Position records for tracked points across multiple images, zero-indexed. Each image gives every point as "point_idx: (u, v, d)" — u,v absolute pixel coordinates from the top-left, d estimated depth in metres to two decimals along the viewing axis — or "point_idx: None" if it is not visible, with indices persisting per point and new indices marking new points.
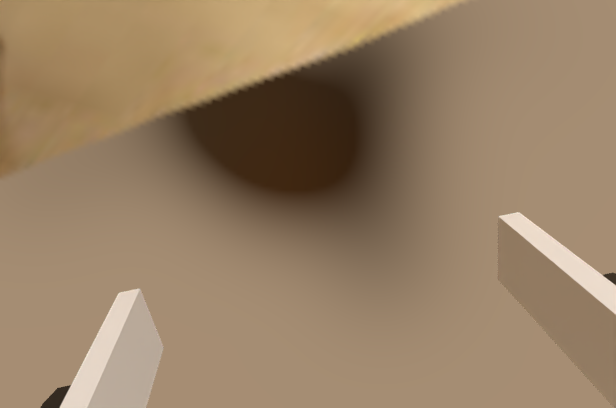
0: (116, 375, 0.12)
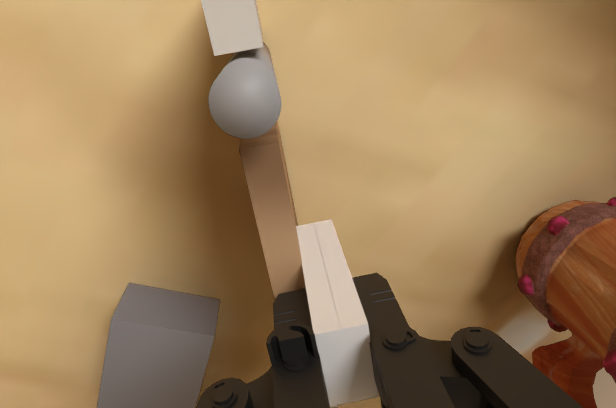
0: None
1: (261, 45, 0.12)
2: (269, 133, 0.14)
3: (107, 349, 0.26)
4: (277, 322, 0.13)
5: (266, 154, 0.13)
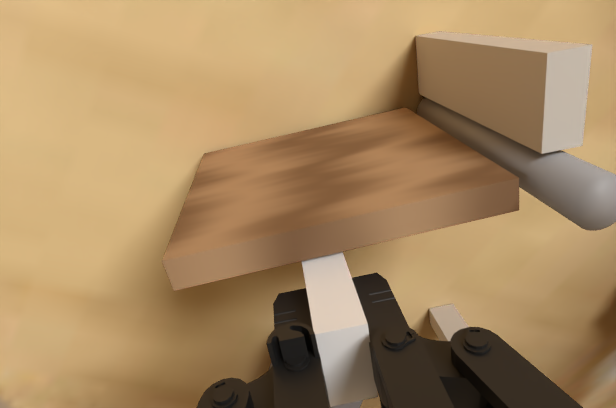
0: None
1: (581, 144, 0.14)
2: None
3: None
4: (277, 322, 0.13)
5: (510, 201, 0.15)
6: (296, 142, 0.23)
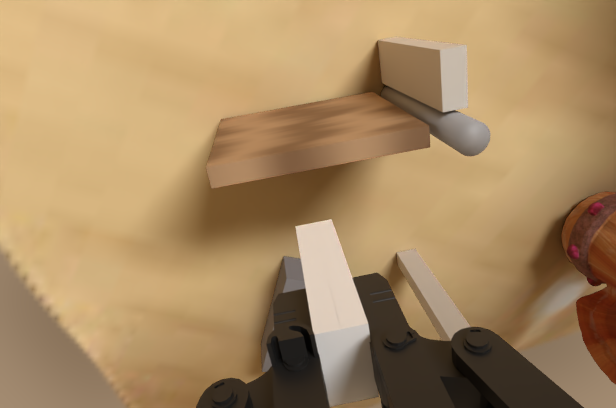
0: None
1: (467, 106, 0.23)
2: None
3: None
4: (277, 322, 0.13)
5: (424, 140, 0.23)
6: (290, 112, 0.32)
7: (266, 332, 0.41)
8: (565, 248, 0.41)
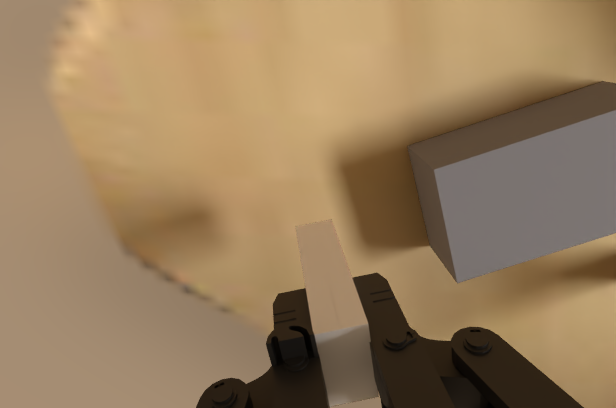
0: None
1: None
2: None
3: (613, 112, 0.18)
4: (277, 322, 0.13)
5: None
6: None
7: (463, 137, 0.20)
8: None
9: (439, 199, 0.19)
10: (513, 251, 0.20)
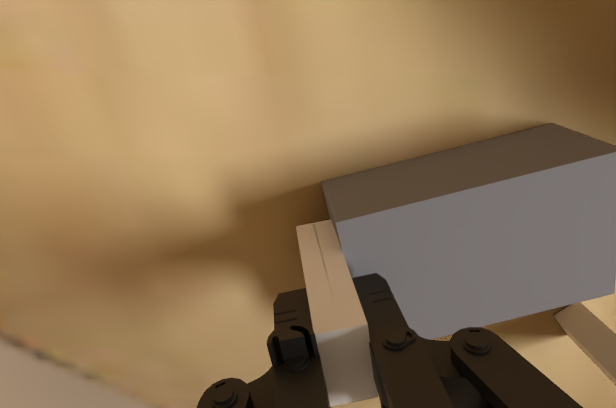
0: None
1: None
2: None
3: (559, 168, 0.15)
4: (277, 322, 0.13)
5: None
6: None
7: (385, 179, 0.17)
8: None
9: None
10: (434, 323, 0.17)
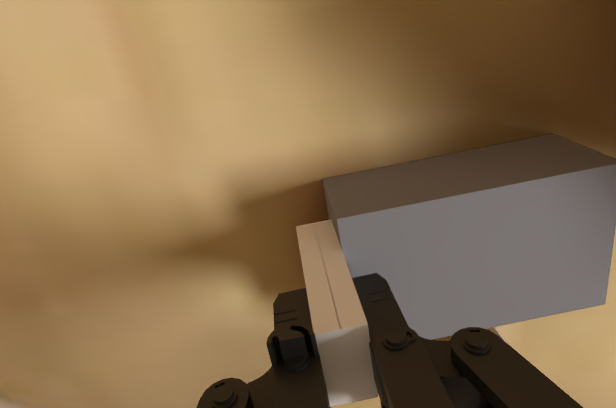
0: None
1: None
2: None
3: (559, 177, 0.15)
4: (277, 322, 0.13)
5: None
6: None
7: (387, 180, 0.17)
8: None
9: None
10: (428, 325, 0.17)
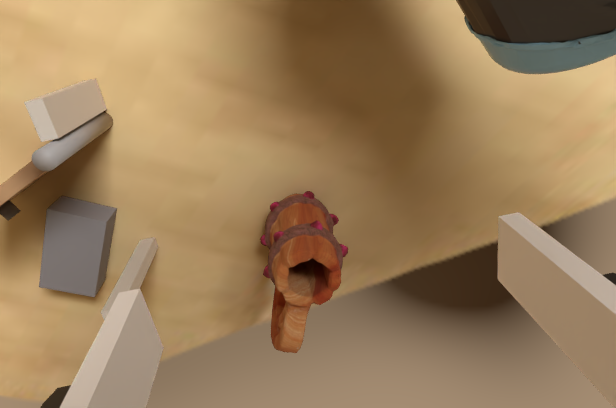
0: (116, 375, 0.12)
1: (57, 137, 0.35)
2: None
3: (45, 227, 0.47)
4: None
5: None
6: None
7: None
8: None
9: (53, 288, 0.50)
10: (91, 275, 0.49)
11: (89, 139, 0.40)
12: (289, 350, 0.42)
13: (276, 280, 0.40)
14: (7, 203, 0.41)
